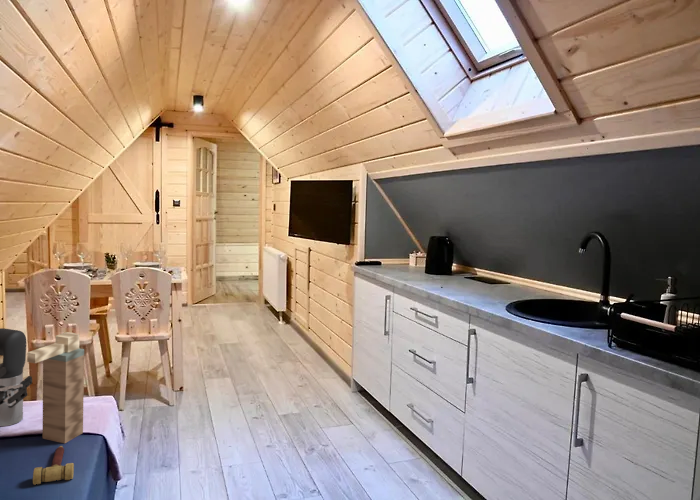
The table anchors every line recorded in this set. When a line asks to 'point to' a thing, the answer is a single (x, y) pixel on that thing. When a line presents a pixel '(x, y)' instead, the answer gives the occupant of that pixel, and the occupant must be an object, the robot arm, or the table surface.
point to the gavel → (54, 470)
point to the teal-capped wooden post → (63, 396)
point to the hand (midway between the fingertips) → (18, 374)
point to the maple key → (55, 347)
